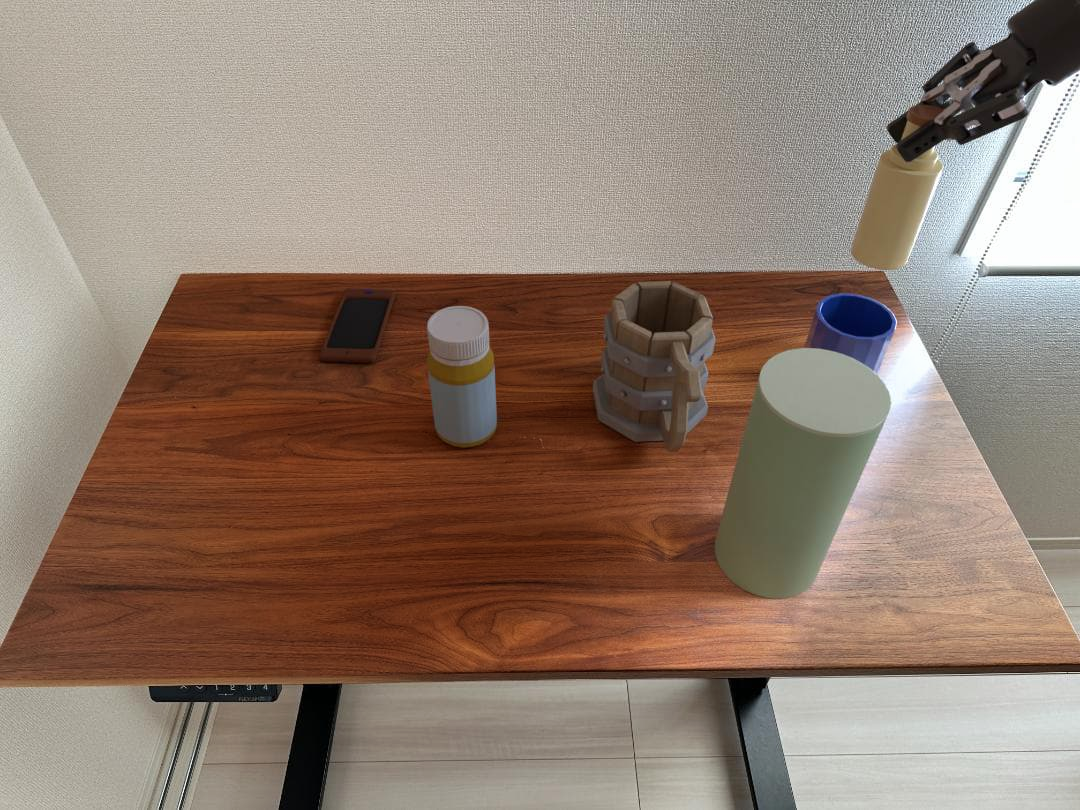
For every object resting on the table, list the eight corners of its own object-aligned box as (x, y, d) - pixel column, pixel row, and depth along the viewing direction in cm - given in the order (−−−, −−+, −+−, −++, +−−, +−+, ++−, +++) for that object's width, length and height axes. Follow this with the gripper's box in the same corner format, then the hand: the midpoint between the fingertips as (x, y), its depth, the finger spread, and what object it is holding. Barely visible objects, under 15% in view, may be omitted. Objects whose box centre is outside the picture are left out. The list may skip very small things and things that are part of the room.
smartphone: (395, 288, 106) (373, 358, 95) (396, 294, 107) (374, 364, 96) (344, 287, 106) (316, 356, 95) (345, 292, 107) (318, 362, 96)
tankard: (588, 371, 95) (595, 268, 85) (689, 366, 96) (708, 264, 86) (611, 495, 81) (623, 389, 71) (729, 489, 82) (758, 383, 71)
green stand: (827, 535, 77) (899, 369, 62) (806, 615, 71) (880, 450, 56) (730, 501, 80) (776, 335, 65) (701, 574, 74) (744, 408, 59)
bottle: (459, 399, 91) (449, 295, 81) (508, 421, 89) (505, 316, 78) (423, 436, 87) (408, 330, 77) (474, 459, 84) (466, 354, 74)
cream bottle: (910, 248, 86) (964, 106, 75) (903, 275, 82) (959, 129, 71) (855, 236, 88) (900, 95, 77) (845, 262, 84) (891, 117, 73)
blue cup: (880, 356, 98) (901, 305, 92) (869, 400, 92) (890, 348, 86) (808, 337, 101) (824, 286, 95) (793, 377, 95) (809, 326, 89)
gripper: (1036, -39, 71) (862, 89, 80) (1101, 9, 61) (892, 149, 70) (1069, 25, 74) (898, 141, 83) (1136, 80, 64) (932, 206, 73)
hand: (896, 144), depth 76 cm, fingers closed on cream bottle, 3 cm apart
